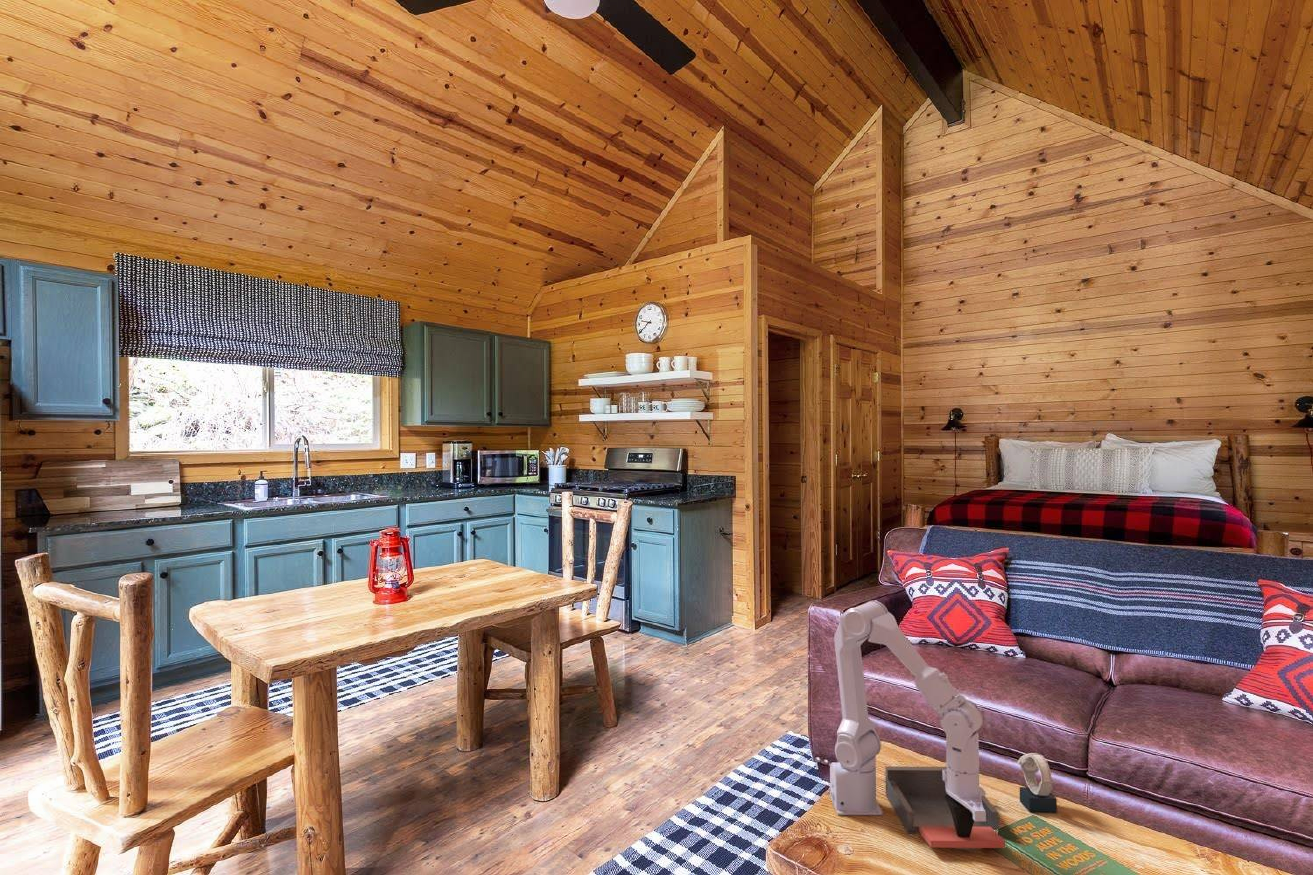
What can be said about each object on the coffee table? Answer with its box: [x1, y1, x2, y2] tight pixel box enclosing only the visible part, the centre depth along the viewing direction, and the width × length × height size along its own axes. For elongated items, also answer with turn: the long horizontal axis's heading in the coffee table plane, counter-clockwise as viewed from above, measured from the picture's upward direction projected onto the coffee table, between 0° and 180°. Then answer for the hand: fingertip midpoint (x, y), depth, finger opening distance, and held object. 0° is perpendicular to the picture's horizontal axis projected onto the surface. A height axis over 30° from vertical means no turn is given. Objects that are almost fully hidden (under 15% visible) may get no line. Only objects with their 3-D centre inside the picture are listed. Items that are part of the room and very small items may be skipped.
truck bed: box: [884, 765, 1000, 835], centre depth 137 cm, size 18×14×6 cm
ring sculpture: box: [1017, 752, 1058, 814], centre depth 139 cm, size 6×8×11 cm
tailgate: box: [919, 826, 1007, 850], centre depth 126 cm, size 14×2×6 cm
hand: (963, 836), depth 125 cm, fingers closed, pressing on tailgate
